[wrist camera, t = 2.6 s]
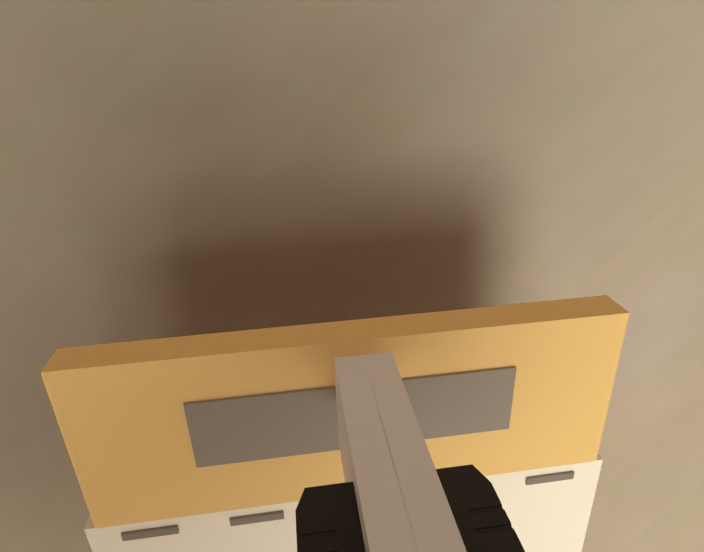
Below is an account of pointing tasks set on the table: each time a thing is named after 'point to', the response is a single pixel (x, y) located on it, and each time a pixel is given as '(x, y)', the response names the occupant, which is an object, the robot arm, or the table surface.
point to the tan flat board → (327, 403)
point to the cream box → (280, 519)
